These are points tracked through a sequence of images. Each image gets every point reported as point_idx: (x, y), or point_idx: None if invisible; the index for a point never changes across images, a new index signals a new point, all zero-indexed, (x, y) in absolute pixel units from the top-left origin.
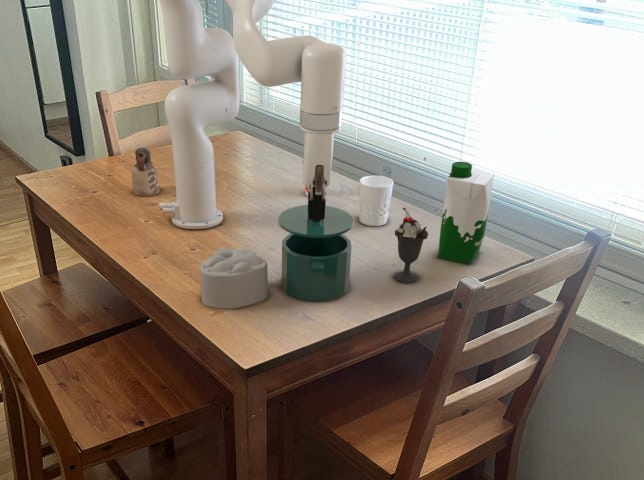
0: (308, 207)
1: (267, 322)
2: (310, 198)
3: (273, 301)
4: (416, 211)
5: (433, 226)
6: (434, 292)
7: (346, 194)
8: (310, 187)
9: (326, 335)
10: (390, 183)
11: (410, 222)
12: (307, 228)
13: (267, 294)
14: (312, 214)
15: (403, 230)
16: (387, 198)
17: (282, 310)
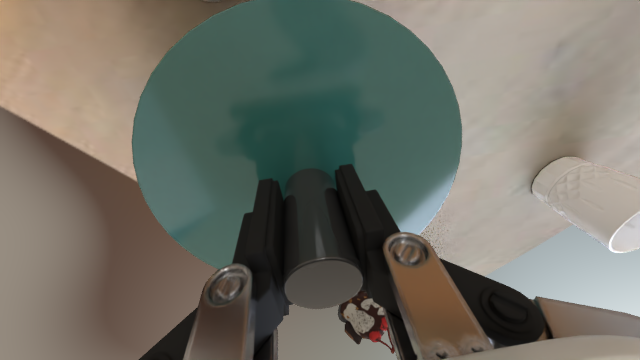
0: (253, 215)
1: (78, 28)
2: (204, 290)
3: (190, 26)
4: (563, 227)
5: (505, 250)
6: None
7: None
8: (391, 271)
9: (108, 163)
10: (629, 241)
11: (367, 334)
12: (202, 176)
13: (211, 1)
14: (244, 216)
15: (361, 310)
16: (580, 228)
17: (157, 58)
